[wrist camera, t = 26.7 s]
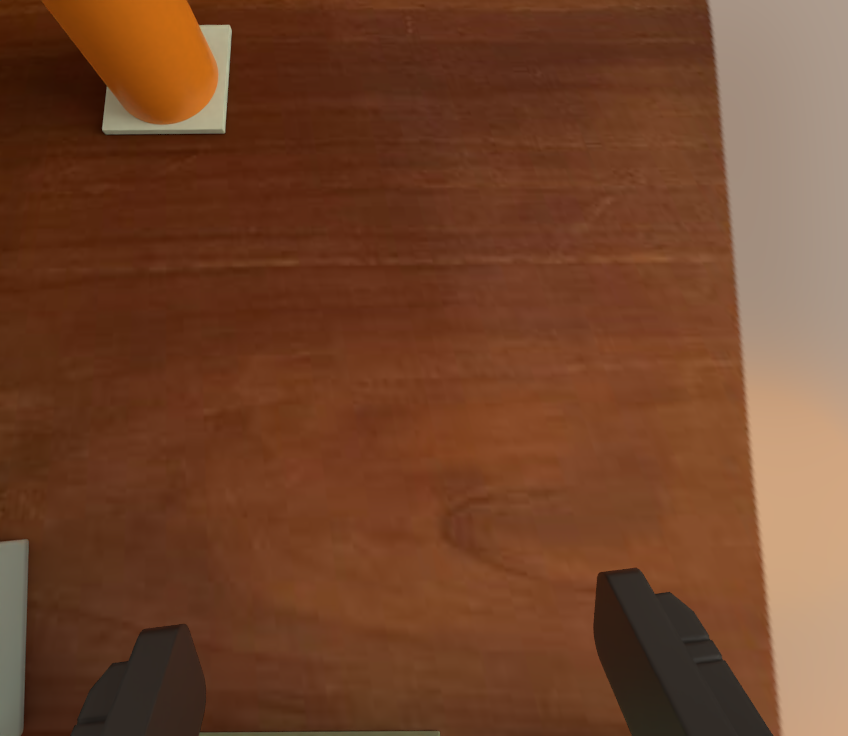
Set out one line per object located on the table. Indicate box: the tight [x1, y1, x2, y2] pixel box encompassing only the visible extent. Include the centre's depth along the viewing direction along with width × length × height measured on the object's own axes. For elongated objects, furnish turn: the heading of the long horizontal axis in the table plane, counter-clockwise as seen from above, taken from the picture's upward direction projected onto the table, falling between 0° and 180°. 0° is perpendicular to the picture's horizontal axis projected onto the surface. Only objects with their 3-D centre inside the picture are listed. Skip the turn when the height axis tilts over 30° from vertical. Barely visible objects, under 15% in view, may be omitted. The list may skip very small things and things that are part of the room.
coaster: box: [102, 25, 232, 134], centre depth 31 cm, size 6×6×1 cm
